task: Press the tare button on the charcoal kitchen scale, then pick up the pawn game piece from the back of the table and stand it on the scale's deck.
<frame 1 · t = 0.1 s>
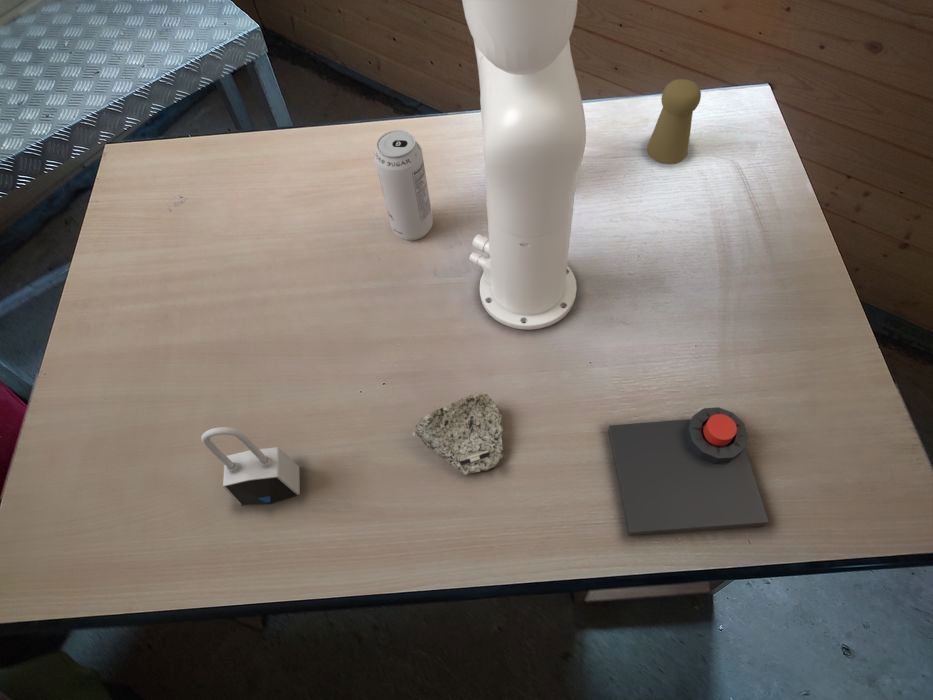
rock sample: (472, 439, 71), on the table
scale: (682, 476, 67), on the table
canned food: (541, 182, 92), on the table
tare button: (719, 430, 66), point 4 cm above the table, slide at 0.1 cm
pawn game piece: (666, 151, 94), on the table
padlock: (270, 486, 70), on the table
energy drink can: (413, 228, 89), on the table
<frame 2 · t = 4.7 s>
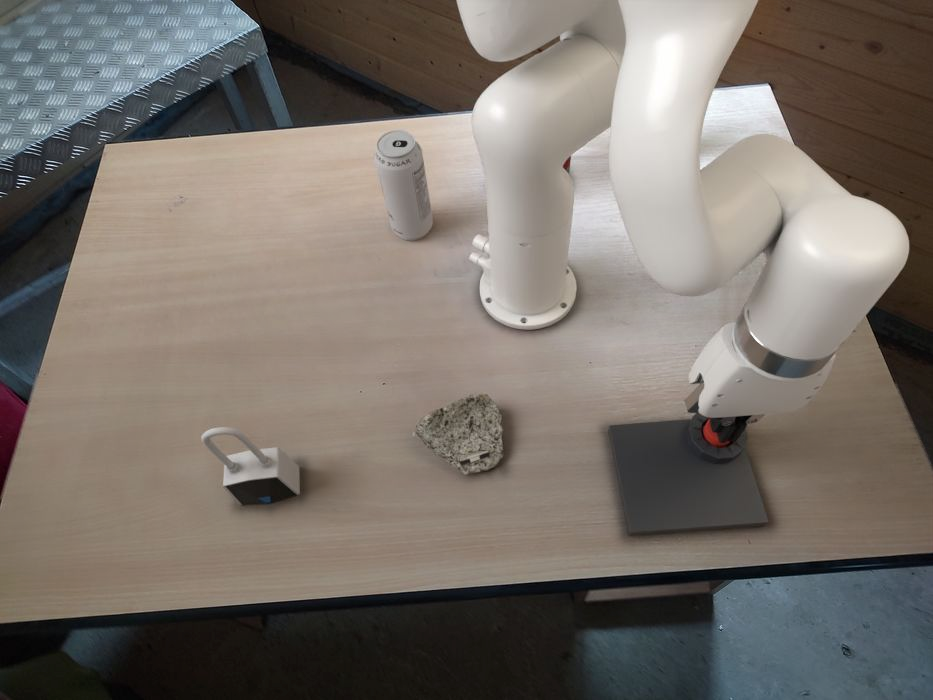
hand: (723, 429, 65), 4 cm above the table, tool pointing down, fingers closed
tare button: (718, 431, 66), point 3 cm above the table, slide at -0.3 cm, touching gripper
everything else where it was.
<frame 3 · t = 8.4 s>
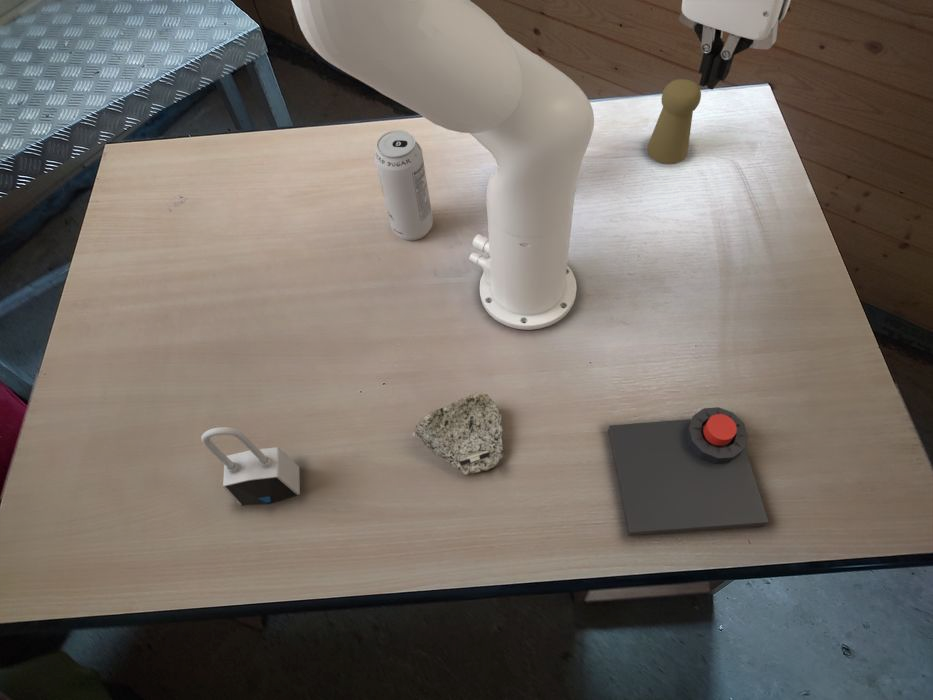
hand: (711, 81, 73), 18 cm above the table, tool pointing down, fingers closed
tare button: (719, 430, 66), point 4 cm above the table, slide at 0.1 cm
everything else where it was.
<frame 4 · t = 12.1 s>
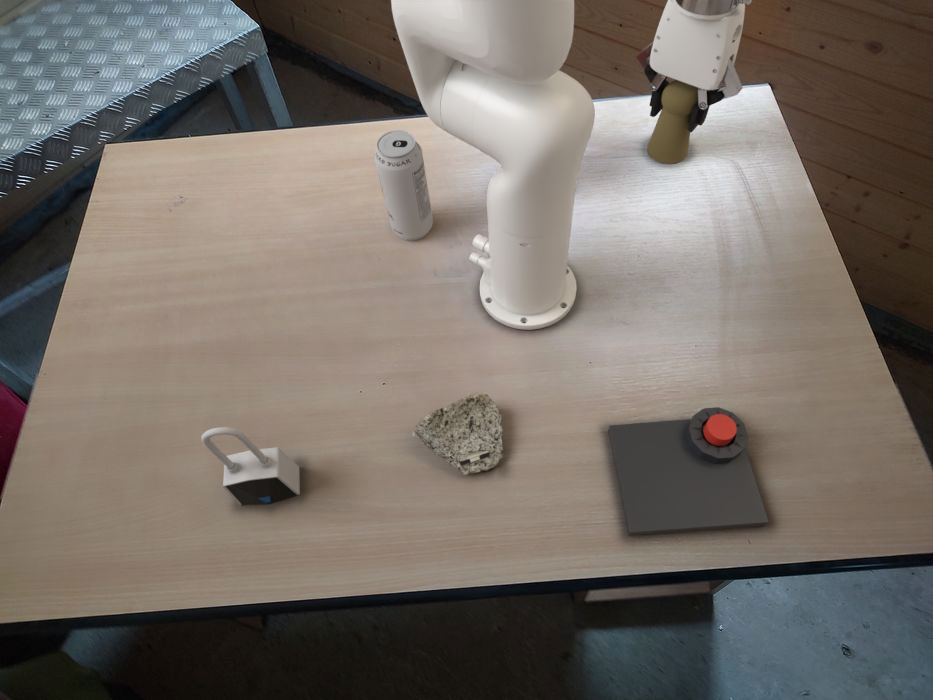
hand: (675, 117, 89), 6 cm above the table, tool pointing down, fingers closed on pawn game piece, 5 cm apart
pawn game piece: (666, 151, 94), on the table, touching gripper
everything else where it was.
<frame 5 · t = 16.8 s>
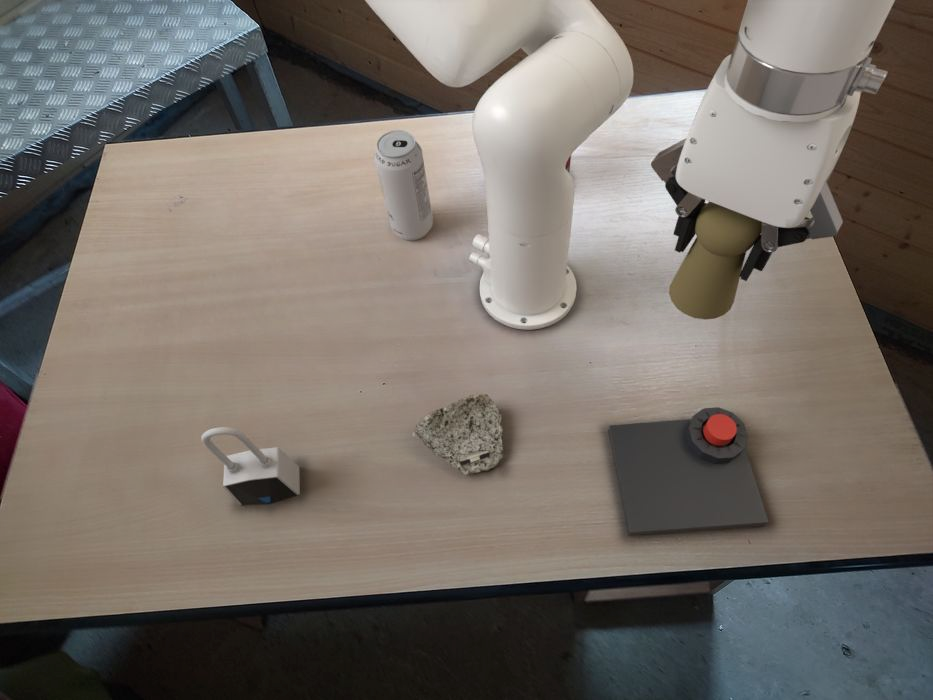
hand: (717, 253, 54), 23 cm above the table, tool pointing down, fingers closed on pawn game piece, 5 cm apart
pawn game piece: (700, 294, 59), point 17 cm above the table, touching gripper
everything else where it was.
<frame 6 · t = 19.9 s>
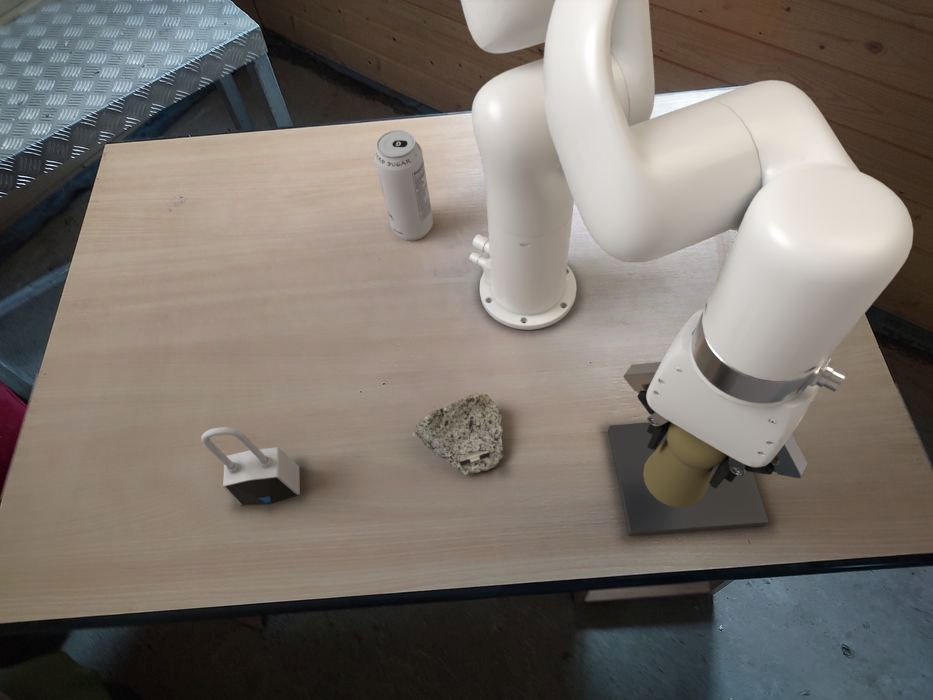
hand: (689, 454, 55), 13 cm above the table, tool pointing down, fingers closed on pawn game piece, 5 cm apart
pawn game piece: (674, 477, 60), point 7 cm above the table, touching gripper
everything else where it was.
when the fingers open (7 cm above the table, at t = 22.0 s): pawn game piece stays where it is, resting on scale.
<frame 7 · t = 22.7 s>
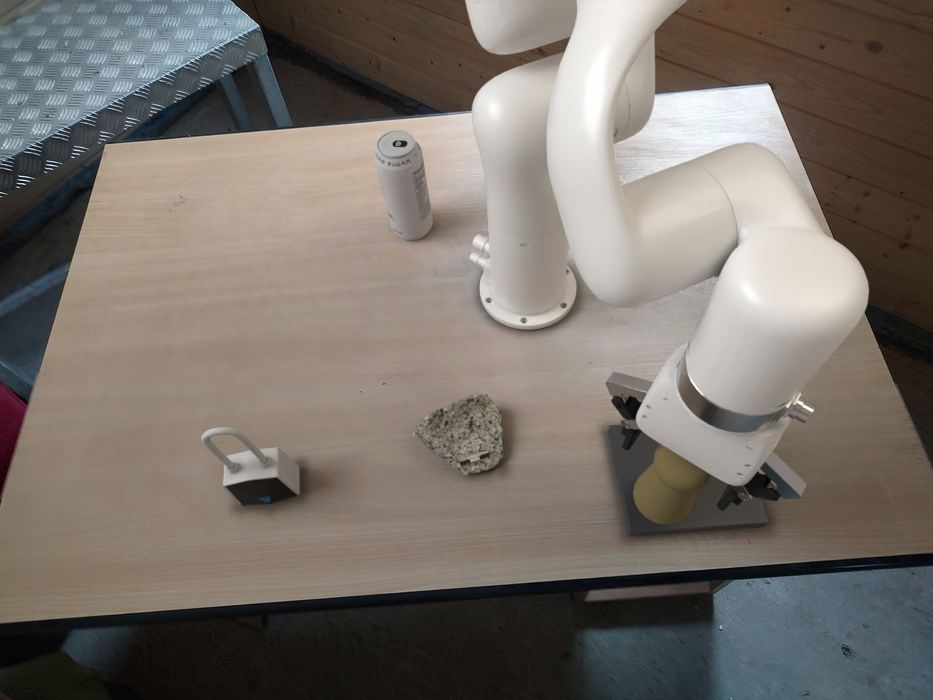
hand: (678, 466, 58), 9 cm above the table, tool pointing down, fingers open, 9 cm apart
pawn game piece: (662, 496, 65), point 1 cm above the table, touching scale
everything else where it was.
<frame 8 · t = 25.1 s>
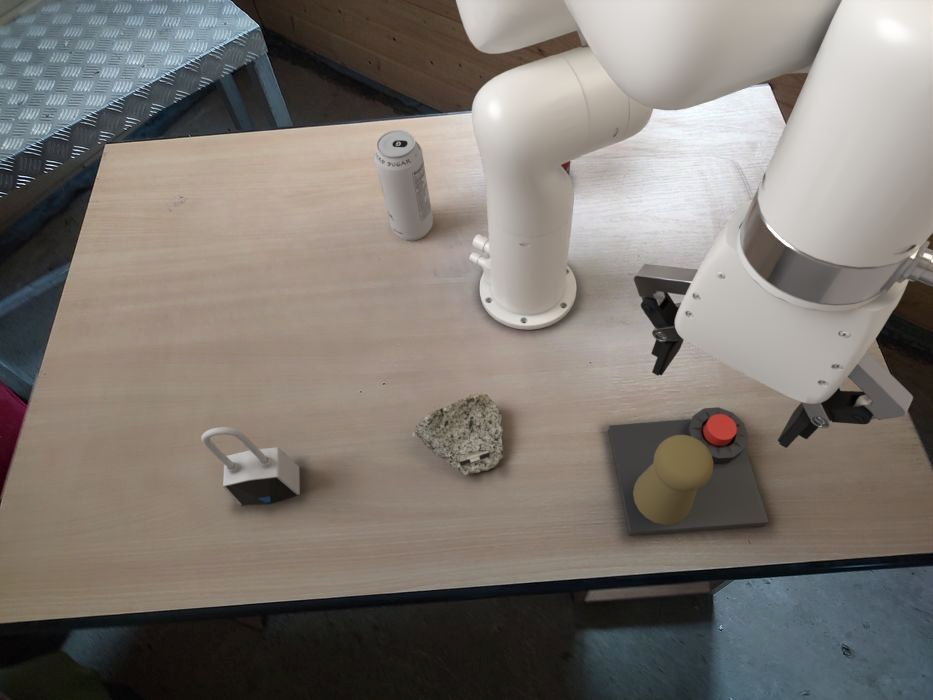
hand: (725, 394, 45), 24 cm above the table, tool pointing down, fingers open, 9 cm apart
nothing on the table moved.
at the end: tare button pushed in 0.9 cm at the most during the clip, back to where it started at the end; pawn game piece inside the target area on the scale (0.1 cm from its centre), point 1.2 cm above the scale's base; pawn game piece tilted 0° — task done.
